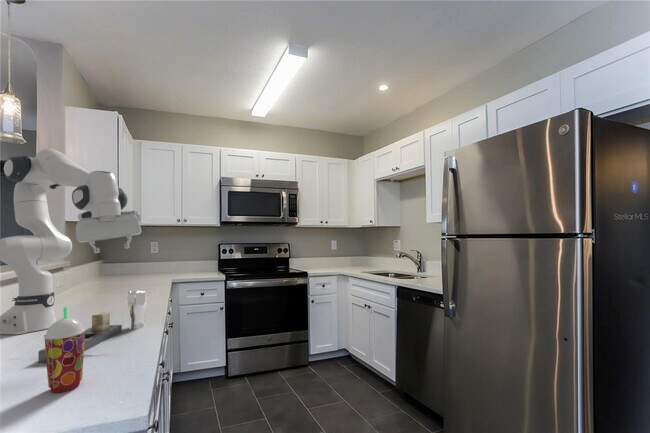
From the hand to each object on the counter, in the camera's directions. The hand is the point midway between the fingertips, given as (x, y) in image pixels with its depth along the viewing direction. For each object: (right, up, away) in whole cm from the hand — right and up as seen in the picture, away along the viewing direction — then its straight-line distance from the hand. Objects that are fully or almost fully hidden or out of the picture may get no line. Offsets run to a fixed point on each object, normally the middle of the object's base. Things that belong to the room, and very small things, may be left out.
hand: (112, 250), depth 124 cm
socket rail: (-5, -32, -7) cm, 33 cm away
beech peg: (-6, -32, +2) cm, 32 cm away
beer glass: (+2, -33, +13) cm, 35 cm away
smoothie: (+12, -31, -38) cm, 50 cm away
